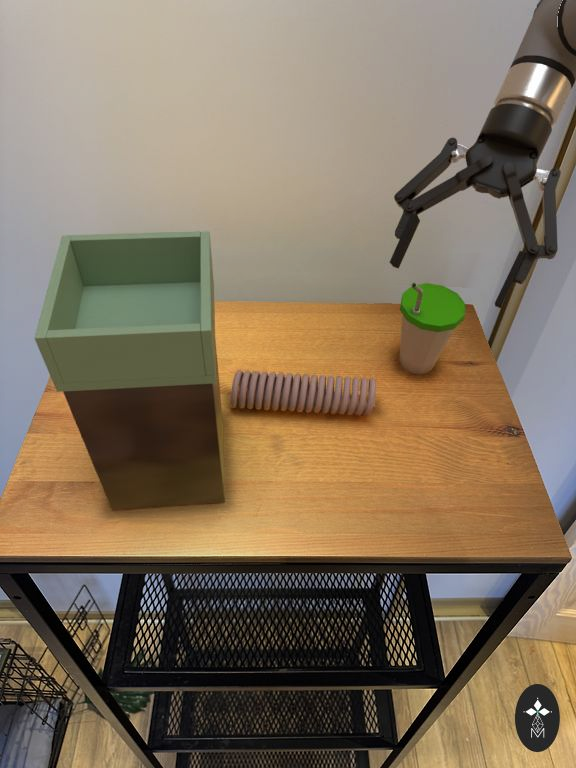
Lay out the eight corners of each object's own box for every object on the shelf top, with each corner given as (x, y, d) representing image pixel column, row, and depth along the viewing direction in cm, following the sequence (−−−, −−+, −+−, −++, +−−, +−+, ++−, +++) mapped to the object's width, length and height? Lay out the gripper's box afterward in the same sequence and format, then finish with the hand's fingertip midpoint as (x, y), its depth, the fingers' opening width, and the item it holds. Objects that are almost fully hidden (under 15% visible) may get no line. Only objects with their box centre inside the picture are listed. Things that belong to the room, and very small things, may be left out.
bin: (213, 284, 55) (209, 230, 50) (216, 383, 47) (211, 330, 42) (78, 289, 54) (61, 235, 49) (56, 392, 45) (34, 338, 41)
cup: (440, 342, 79) (469, 252, 68) (450, 385, 74) (484, 296, 63) (384, 340, 79) (404, 250, 68) (390, 383, 74) (413, 293, 63)
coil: (379, 370, 69) (231, 361, 70) (382, 397, 66) (226, 387, 66) (374, 397, 73) (232, 389, 73) (376, 424, 69) (228, 415, 69)
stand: (222, 415, 70) (210, 286, 55) (225, 502, 62) (212, 381, 47) (121, 421, 69) (81, 291, 53) (111, 510, 61) (61, 389, 46)
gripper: (626, 160, 67) (543, 327, 70) (428, 104, 75) (361, 256, 78) (640, 132, 60) (547, 320, 63) (420, 74, 68) (347, 243, 71)
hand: (444, 285), depth 70 cm, fingers open, 13 cm apart
